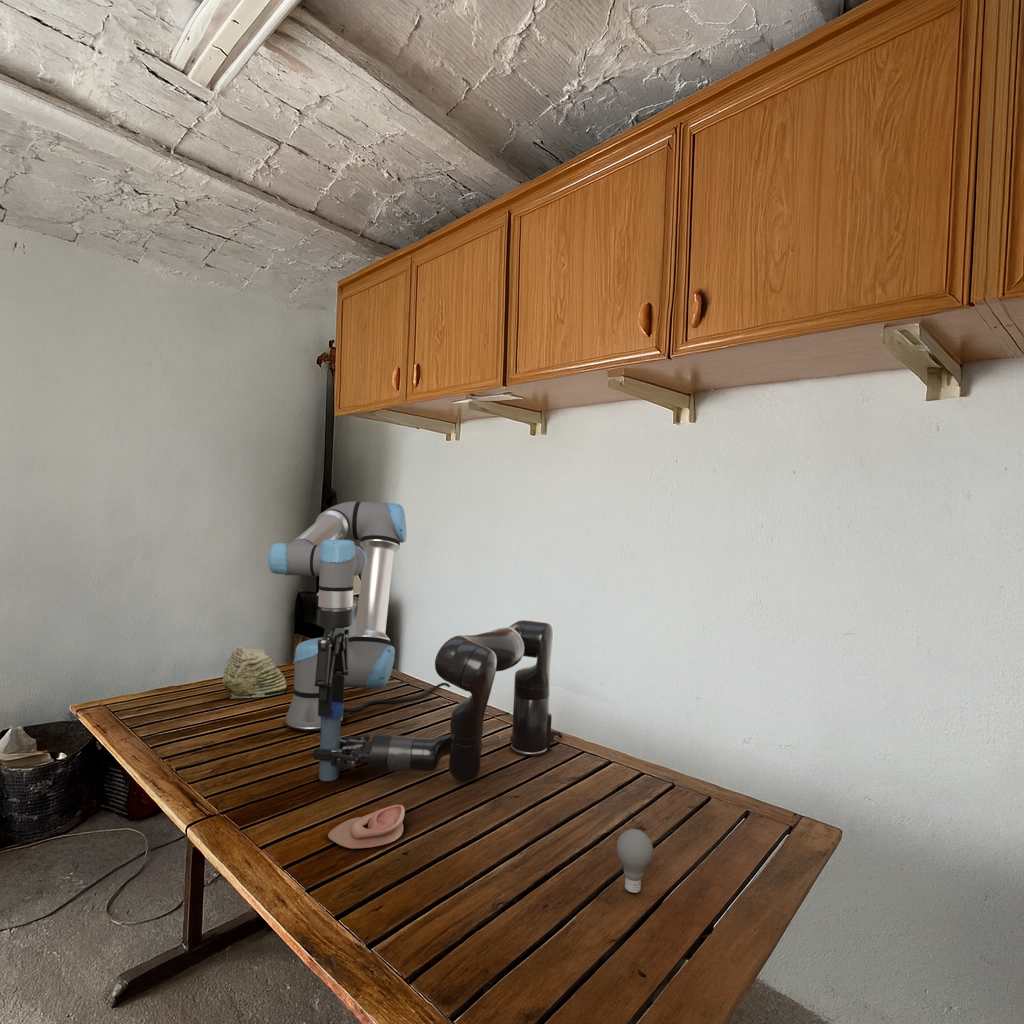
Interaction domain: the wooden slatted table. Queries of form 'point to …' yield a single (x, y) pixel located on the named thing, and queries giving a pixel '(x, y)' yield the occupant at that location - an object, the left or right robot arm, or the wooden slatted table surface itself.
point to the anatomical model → (370, 828)
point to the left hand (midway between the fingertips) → (331, 709)
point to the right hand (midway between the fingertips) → (318, 749)
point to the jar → (329, 747)
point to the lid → (335, 711)
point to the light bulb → (634, 857)
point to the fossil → (252, 674)
